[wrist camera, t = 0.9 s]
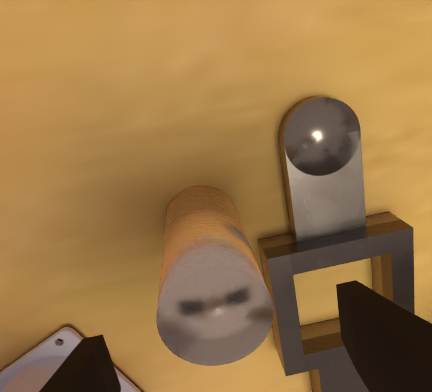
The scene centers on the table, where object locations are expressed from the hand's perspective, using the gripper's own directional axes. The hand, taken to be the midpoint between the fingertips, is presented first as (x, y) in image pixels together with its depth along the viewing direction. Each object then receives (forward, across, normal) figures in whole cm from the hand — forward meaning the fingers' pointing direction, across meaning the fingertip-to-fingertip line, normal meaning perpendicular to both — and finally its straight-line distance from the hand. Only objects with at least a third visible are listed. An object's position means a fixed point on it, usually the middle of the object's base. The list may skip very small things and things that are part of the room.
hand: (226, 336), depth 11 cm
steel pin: (+10, 0, 0) cm, 10 cm away
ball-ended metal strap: (+10, -7, +6) cm, 14 cm away
